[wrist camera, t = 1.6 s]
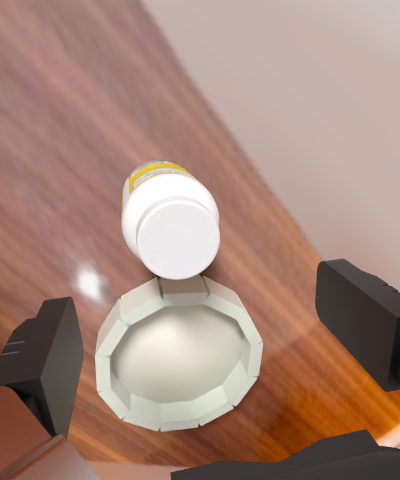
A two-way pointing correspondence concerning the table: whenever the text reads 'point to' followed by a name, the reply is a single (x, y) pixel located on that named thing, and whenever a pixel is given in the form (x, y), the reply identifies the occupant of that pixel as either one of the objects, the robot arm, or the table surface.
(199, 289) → the sage bowl
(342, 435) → the robot arm
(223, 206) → the table surface
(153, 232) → the supplement bottle
